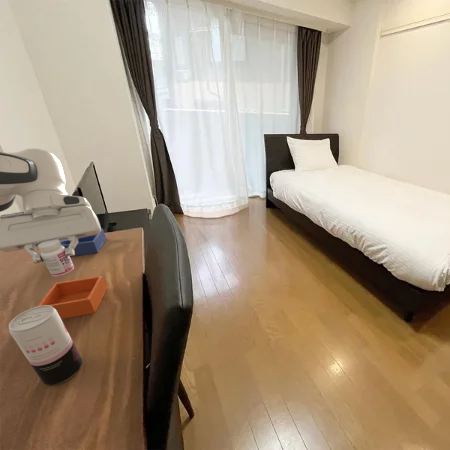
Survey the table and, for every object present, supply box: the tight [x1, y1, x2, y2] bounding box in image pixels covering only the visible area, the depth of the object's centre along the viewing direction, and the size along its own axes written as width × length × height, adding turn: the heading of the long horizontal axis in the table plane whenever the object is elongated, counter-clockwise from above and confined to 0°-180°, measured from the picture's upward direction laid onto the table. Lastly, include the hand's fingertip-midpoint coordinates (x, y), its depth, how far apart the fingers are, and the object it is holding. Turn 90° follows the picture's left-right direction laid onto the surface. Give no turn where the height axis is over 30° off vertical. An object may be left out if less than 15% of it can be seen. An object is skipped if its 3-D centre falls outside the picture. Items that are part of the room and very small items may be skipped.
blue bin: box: [60, 228, 107, 258], centre depth 98 cm, size 11×10×5 cm
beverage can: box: [8, 305, 83, 386], centre depth 53 cm, size 6×7×15 cm
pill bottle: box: [37, 239, 75, 277], centre depth 67 cm, size 5×5×8 cm
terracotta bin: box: [37, 275, 108, 320], centre depth 72 cm, size 11×10×5 cm
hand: (54, 258), depth 67 cm, fingers closed on pill bottle, 5 cm apart
